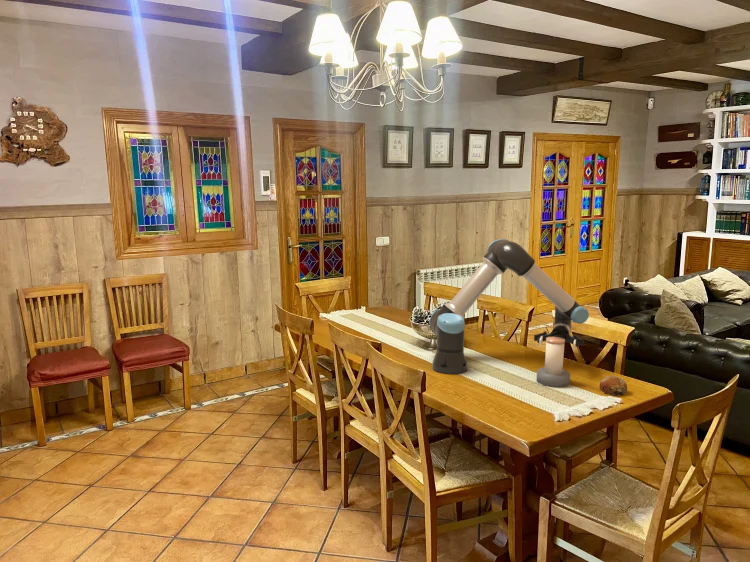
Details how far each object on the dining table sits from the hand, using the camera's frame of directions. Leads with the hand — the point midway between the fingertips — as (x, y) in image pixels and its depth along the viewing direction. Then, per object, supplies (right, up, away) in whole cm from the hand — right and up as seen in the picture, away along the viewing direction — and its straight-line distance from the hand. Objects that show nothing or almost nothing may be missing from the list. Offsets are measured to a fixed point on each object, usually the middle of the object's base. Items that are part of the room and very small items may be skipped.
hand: (556, 344), depth 230 cm
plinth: (-3, -15, -4) cm, 15 cm away
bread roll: (+17, -17, -15) cm, 28 cm away
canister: (-3, -11, -5) cm, 12 cm away
